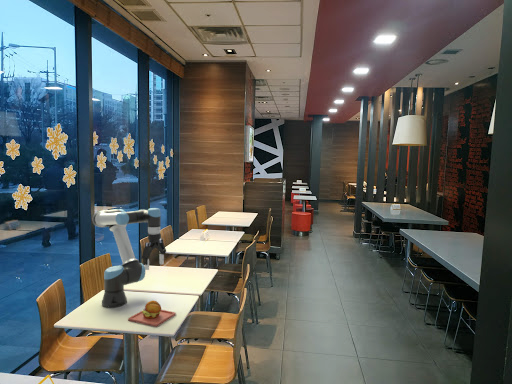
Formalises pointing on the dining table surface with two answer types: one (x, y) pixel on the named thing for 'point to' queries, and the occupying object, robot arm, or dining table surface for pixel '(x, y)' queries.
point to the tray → (154, 322)
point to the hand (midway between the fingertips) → (154, 266)
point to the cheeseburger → (151, 310)
